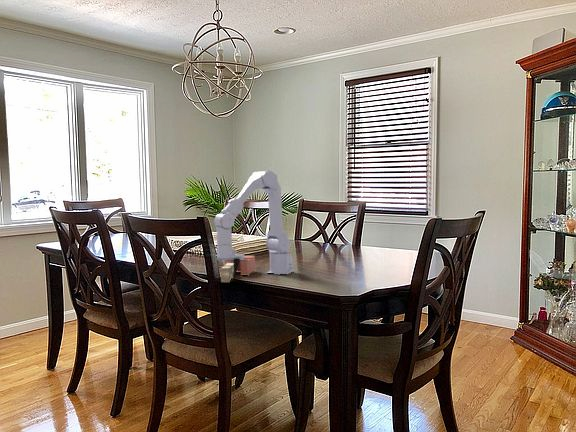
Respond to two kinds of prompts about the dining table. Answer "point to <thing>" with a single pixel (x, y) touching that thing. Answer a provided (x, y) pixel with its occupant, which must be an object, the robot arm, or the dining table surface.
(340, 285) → the dining table surface
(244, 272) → the dispenser
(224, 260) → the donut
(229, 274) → the cream block
